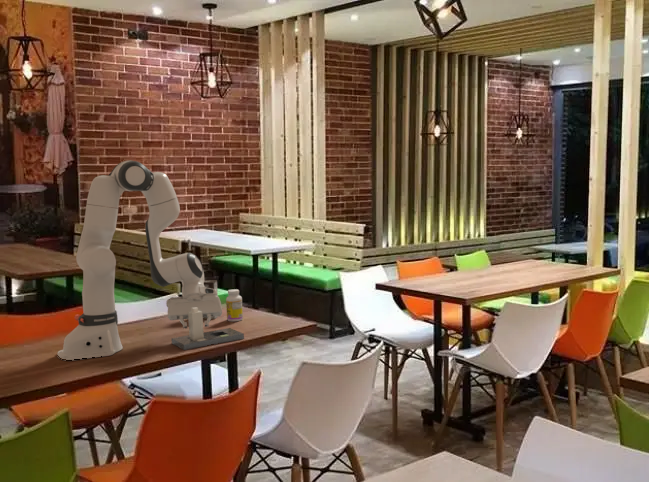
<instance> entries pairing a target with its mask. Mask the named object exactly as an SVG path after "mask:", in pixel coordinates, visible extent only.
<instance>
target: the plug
mask: <svg viewBox="0 0 649 482" xmlns="http://www.w3.org/2000/svg"><path fill="white" fill-rule="evenodd" d="M187 320H188V333H189V338H190V340H192V341H194V340H199V339H204V319H203V316H202V311H199V310H198V308H197V307H195V308H192V311H189V312H188V319H187Z"/></svg>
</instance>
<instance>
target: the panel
mask: <svg viewBox="0 0 649 482" xmlns="http://www.w3.org/2000/svg"><path fill="white" fill-rule="evenodd" d="M203 333H204V339H199V340H194V341H192V340H190V338H189V335H188V334H187V335H183V336H178V337H177V336H176V337H171V344H172V345H173V346H176V347H178V348H180V350H183V351H186V350H191V349H197V348H201V347H203V348H204V347H207V345H209V346H212V345H211V344H214V345H219V344H223V343H229V342H233V341H239V340H244V339H245V337H244V336H245V334H244V333H243V332H241V331H239V330H237V329H234V328H231V327H227V328H221V329H217V330H211V331H205V332H204V331H203ZM218 343H219V344H218Z"/></svg>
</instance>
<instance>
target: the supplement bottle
mask: <svg viewBox="0 0 649 482" xmlns="http://www.w3.org/2000/svg"><path fill="white" fill-rule="evenodd" d="M227 294H228V296H226V298H225V300H226V301H225V304H226V306H225V307H226V320H227V321H228V322H231V323H232V322H234V323H235V322H240V321H243V319H244V317H243V316H244V315H243V314H244V313H243V297H242V296H241V295H240V290H239V289H237V288H236V289H235V288H234V289H228V290H227Z"/></svg>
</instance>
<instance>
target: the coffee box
mask: <svg viewBox="0 0 649 482" xmlns="http://www.w3.org/2000/svg"><path fill="white" fill-rule="evenodd" d="M204 286H205V287H206V288H211V289H215V290H216V291H217V296H218V297H219V295H218V280H217V279H204ZM217 318H218V317H211V320H217ZM203 320H207V317H206V318H203Z"/></svg>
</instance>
